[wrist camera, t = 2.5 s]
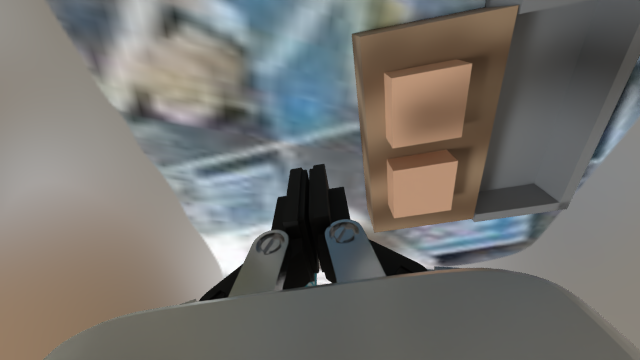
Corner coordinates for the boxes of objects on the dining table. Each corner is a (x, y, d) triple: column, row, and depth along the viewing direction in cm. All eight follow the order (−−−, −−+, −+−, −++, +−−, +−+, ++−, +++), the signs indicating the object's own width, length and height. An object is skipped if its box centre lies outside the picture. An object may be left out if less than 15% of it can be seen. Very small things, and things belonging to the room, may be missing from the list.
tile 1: (386, 159, 21) (393, 171, 20) (446, 149, 21) (458, 160, 19) (388, 204, 24) (393, 218, 22) (441, 196, 24) (450, 210, 22)
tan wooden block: (351, 34, 20) (359, 36, 16) (482, 7, 19) (518, 5, 16) (367, 208, 29) (374, 232, 26) (454, 195, 29) (473, 218, 25)
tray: (486, -1, 19) (524, -6, 15) (614, -27, 18) (683, -38, 15) (455, 198, 29) (474, 221, 25) (536, 186, 28) (566, 208, 25)
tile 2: (384, 72, 18) (391, 78, 16) (456, 59, 17) (472, 63, 16) (386, 137, 20) (392, 148, 19) (448, 127, 20) (461, 137, 18)
